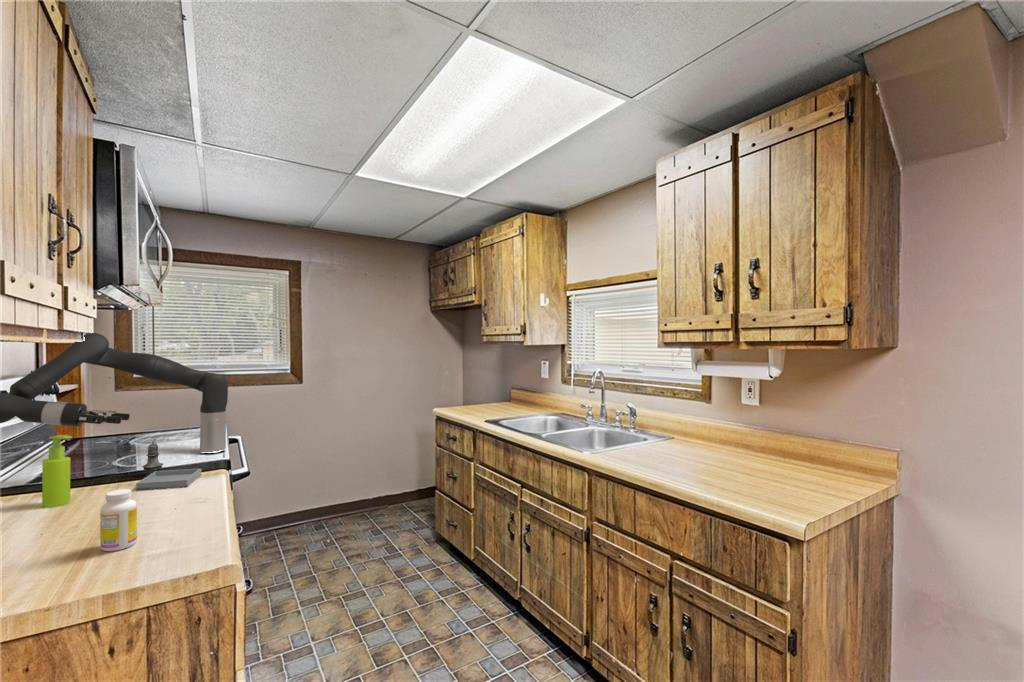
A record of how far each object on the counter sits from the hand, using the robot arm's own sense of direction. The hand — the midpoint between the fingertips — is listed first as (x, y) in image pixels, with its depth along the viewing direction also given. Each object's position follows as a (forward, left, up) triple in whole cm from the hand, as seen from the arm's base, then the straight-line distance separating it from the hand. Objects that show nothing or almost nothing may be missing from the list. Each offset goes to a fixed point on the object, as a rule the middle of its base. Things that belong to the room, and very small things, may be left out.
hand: (125, 418), depth 162 cm
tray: (+8, +16, -21) cm, 28 cm away
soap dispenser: (+23, -7, -21) cm, 32 cm away
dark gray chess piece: (-3, +7, -21) cm, 22 cm away
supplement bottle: (+60, +23, -21) cm, 68 cm away
